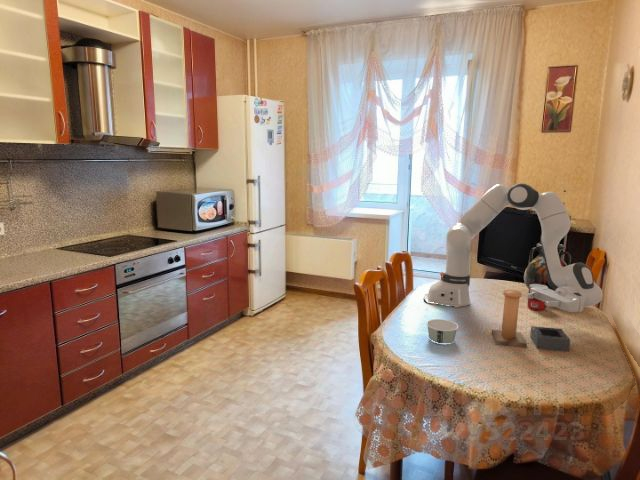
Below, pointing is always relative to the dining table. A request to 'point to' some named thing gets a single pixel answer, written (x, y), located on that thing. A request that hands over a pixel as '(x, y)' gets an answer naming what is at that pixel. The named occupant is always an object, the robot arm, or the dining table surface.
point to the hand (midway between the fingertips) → (537, 299)
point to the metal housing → (549, 338)
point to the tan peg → (510, 313)
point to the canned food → (536, 300)
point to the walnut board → (511, 342)
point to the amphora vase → (541, 267)
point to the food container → (442, 330)
